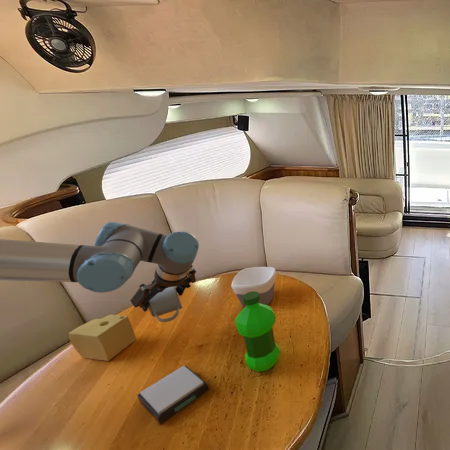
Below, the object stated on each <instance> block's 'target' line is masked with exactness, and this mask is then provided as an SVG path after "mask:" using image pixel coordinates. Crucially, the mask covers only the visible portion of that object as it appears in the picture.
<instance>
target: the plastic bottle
mask: <svg viewBox="0 0 450 450" xmlns="http://www.w3.org/2000/svg"><path fill="white" fill-rule="evenodd" d="M259 301H260V296H259V293H258V292H256V291H252V292H248V293H246V294H244V295H243V302H244V305H246V307H243V308H242V310H241V311H240V312H239V313H238V314H237V316H236V317H235V321H234V323H235V327H236V330H237V333H238V334H239V335H240V336H242V337H243V340H244V344H245V348H246V352H245V354H244V361H245V364H246V367H247V368H248V369H249V370H252V371H256V372H259V373H260V372H265V371H268V370H269V369H271V368H272V367H273V366H275V365H276V363H277V362H278V360H279V358H280V356H281V350H280V347H279V345H278V343H277V342H276V341H275V340H276V339H275V335H274V329H273V327H274V326H275V324H276V319H277V318H276V313H275V312H274V310H273V308H272V307H271V305H269V304H267V305H264V304H261V303H259Z"/></svg>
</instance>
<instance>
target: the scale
mask: <svg viewBox="0 0 450 450" xmlns="http://www.w3.org/2000/svg"><path fill="white" fill-rule="evenodd" d="M209 391H210V388H209V384H208V382H206V381H205V380H204V379H203V378H202V377H201V376H199V375H198V374H197V373H196V372H195V371H193V370H192V369H191V368H190V367H188V366H187V365H182V366H180V367H179V368H177V369H176V370H174V371H172V372H170V373H169V374H167V375H166V376H164V377H163V378H161V379H159V380H157V381H156V382H154V383H153V384H151V385H149V386H148V387H146V388H145V389H142V390H141V391H139V393H138V394H137V395H136V396H137V399H138V400H139V403H140V404H141V405H142V406H143V407H144V408H145V410H147V412H148V413H149V414H150V415H151V417H152V418H153V419H154V420H155V421H156V422H157V423H158V424H159V426H160V425H162V424H164V423H166V422H167V421H168V420H170V419H171V418H172V417H174V416H175V415H177V414H178V413H179V412H181V411H182V410H183V409H185V408H186V407H188V406H189V405H191V404H192V403H194V402H195V401H196V400H198V399H200V398H201V397H202V396H203V395H205V394H206V393H208V392H209Z"/></svg>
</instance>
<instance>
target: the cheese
mask: <svg viewBox="0 0 450 450" xmlns="http://www.w3.org/2000/svg"><path fill="white" fill-rule="evenodd" d="M68 338H69V342H70V343H71V345H72V347H73V348H74V350H75V351H76V352H77V353H78V354H79V355H80V358H82V359H88V360H98V361H106V362H110V360H112V359H113V358H115V357H116V356H117V355H118V354H120V353H121V352H122V351H123V350H125V349H126V348H127V347H128V346H129V345H131V344H133V343H134V342H136V341H137V338H136V334H135V330H134V328H133V326H132V323H131V321H130V319H129V316H127V315H122V314H107V316H104V317H102V318H94V319H91V320H89V321H88V322H85V323H83V324H81V325H80V326H78V327H76V328H74V329H72V330H71V331H70V332H68Z"/></svg>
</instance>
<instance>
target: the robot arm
mask: <svg viewBox="0 0 450 450" xmlns="http://www.w3.org/2000/svg"><path fill="white" fill-rule="evenodd" d="M199 246H200V244H199V240H198V238H197V237H196V236H195V235H194V234H192V233H190V232H188V231H183V230H182V231H181V230H180V231H174V232H173V231H172V232H171V233H169V234H166V233H160V232H156V231H152V230H149V229H145V228H141V227H137V226H133V225H131V224H128V223H121V222H115V221H109V222H107V223H105V224H104V225H103V226H102V228H101V229H100V230H99V232H98V234H97V236H96V238H95V242H94V245H87V244H86V245H85V244H75V243H74V244H73V243H60V242H59V243H57V242H47V241H46V242H45V241H32V240H17V239H7V238H6V239H5V238H0V281H6V282H7V281H9V282H10V281H11V282H14V281H15V282H46V283H47V282H48V283H49V282H52V283H54V282H55V283H78V284H79V285H80V286H81V287H82V288H83V289H85V290H88V291H91V292H93V293H103V294H104V293H109V292H114V291H115V290H118V289H119V288H122V286H123V285H125V284H126V282H127V281H129V280H130V279H131V277H132V276H133V274H134V272H135V270H136V269H137V266H138V265H139V264H140V262H144V263H149V264H155V265H156V267H155V271H154V274H153V276H154V279H152V281H151V282H150V283H148V284H145V283H141V284H140V285H139V288H138V289H137V291H135V293H134V295H133V296H132V297H131V299H130V303H131V304H132V306H133V308H135V309H136V308H139V309H142V311H143V312H144V313H145V312H147V311H148V310H149V309H148V306H149V301H150V300H151V299H152V298H153V297H154V296H155V295H156V294H158V293H160V292H162V291H164V290H165V289H167V288H170V287H174V286H175V288H176V291H177V294H178V296H179V297H181V296H183V294H184V292H185V290H186V289H189V288H191V287H192V286H191V284H195V282H197V279H196V274H197V270H196V269H195V267H194V266H193V263H194V262H195V260H196V258H197V255H198V251H199V248H200V247H199Z"/></svg>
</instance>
